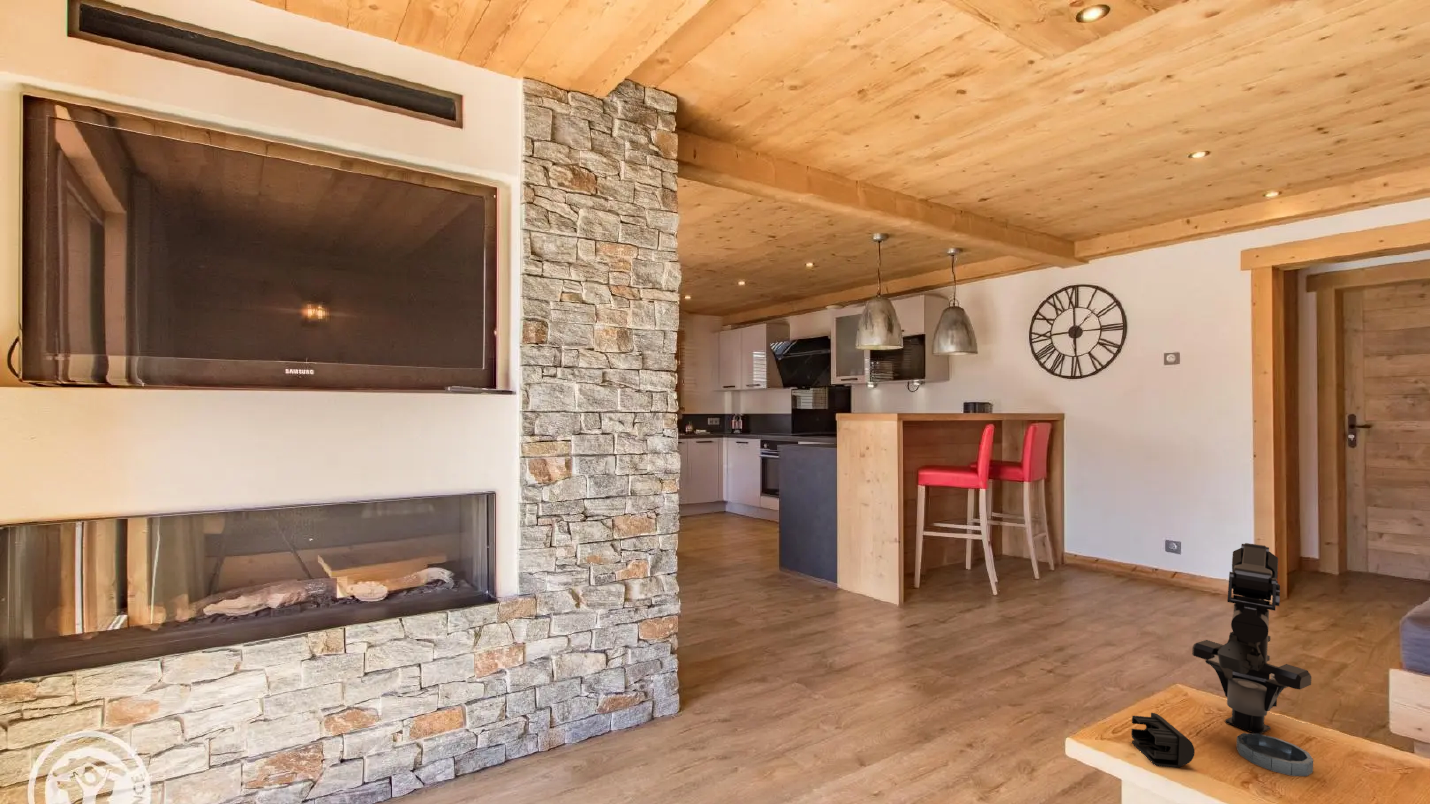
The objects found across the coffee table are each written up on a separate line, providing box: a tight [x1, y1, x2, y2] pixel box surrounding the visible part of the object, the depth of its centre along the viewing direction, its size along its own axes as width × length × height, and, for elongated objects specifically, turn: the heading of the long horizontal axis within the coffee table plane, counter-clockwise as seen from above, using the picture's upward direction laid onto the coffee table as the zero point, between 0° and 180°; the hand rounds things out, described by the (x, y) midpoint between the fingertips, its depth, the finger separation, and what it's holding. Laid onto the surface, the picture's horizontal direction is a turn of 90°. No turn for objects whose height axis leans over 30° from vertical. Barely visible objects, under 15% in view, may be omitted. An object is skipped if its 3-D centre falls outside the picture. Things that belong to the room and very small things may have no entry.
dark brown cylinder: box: [1226, 678, 1268, 717], centre depth 136 cm, size 6×6×5 cm
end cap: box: [1130, 712, 1195, 769], centre depth 134 cm, size 10×7×7 cm
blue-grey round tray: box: [1236, 732, 1314, 777], centre depth 134 cm, size 12×12×2 cm
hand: (1247, 703), depth 136 cm, fingers closed on dark brown cylinder, 6 cm apart
